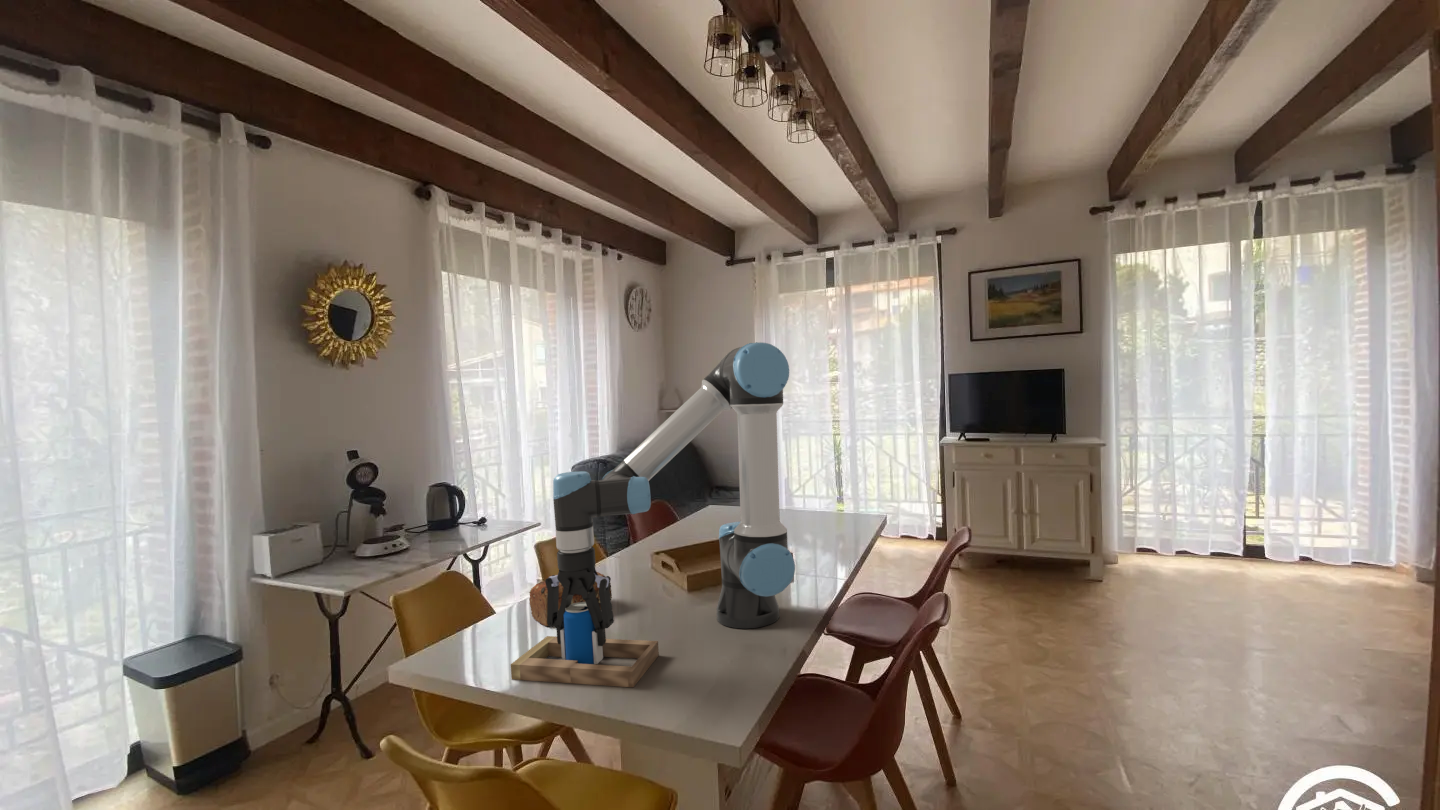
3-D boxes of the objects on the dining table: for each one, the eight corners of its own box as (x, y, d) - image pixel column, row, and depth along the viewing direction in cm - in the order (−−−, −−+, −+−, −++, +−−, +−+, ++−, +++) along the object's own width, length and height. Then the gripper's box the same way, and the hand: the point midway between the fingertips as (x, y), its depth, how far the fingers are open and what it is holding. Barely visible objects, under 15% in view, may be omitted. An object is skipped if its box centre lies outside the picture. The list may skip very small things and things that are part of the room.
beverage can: (591, 672, 120) (587, 612, 120) (561, 671, 122) (557, 612, 121) (603, 658, 127) (600, 601, 127) (575, 657, 128) (571, 601, 128)
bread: (546, 629, 146) (543, 588, 146) (529, 618, 155) (526, 579, 155) (614, 608, 158) (612, 570, 158) (595, 599, 167) (592, 563, 166)
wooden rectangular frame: (658, 655, 128) (658, 641, 128) (633, 687, 114) (632, 671, 114) (548, 649, 134) (547, 636, 134) (511, 679, 121) (510, 664, 120)
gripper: (627, 543, 125) (633, 654, 126) (542, 543, 130) (549, 650, 130) (612, 553, 118) (619, 671, 118) (523, 552, 123) (530, 665, 123)
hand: (582, 659), depth 124 cm, fingers closed on beverage can, 6 cm apart
